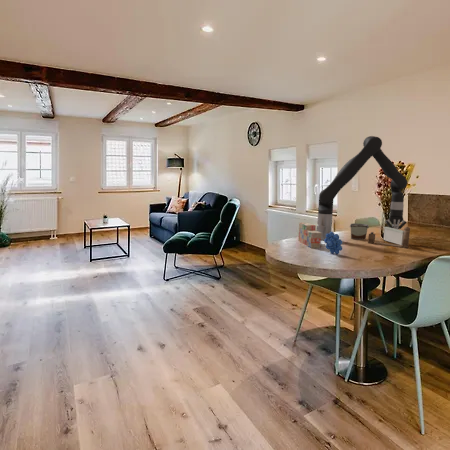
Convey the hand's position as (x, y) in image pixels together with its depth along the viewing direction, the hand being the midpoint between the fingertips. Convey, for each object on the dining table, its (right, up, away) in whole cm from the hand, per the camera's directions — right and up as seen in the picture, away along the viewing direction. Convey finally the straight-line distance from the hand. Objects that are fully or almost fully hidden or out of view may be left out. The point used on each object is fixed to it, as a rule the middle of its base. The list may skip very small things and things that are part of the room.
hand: (394, 235), depth 225 cm
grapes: (-53, -9, -37) cm, 65 cm away
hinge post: (-2, -7, -16) cm, 18 cm away
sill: (-8, -6, -9) cm, 14 cm away
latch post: (-17, -5, -4) cm, 19 cm away
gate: (-4, -5, -5) cm, 8 cm away
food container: (-20, -3, +11) cm, 23 cm away
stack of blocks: (-59, -6, -13) cm, 61 cm away
